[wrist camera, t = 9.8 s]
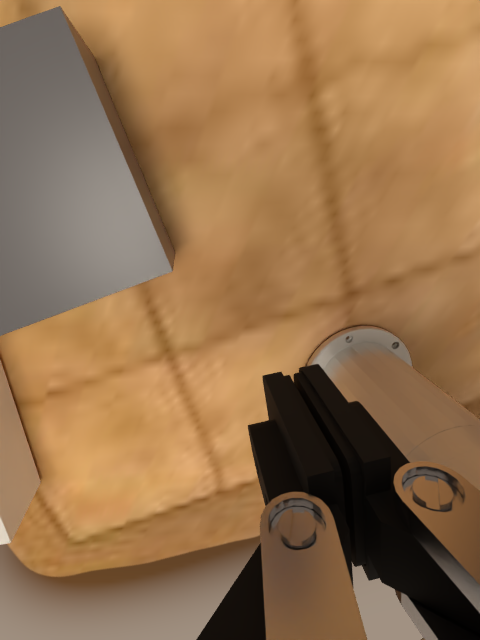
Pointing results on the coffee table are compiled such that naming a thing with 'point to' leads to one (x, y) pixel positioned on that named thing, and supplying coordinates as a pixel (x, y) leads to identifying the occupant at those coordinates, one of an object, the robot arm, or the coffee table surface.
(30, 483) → the side door
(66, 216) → the gray cabinet
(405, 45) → the coffee table surface
